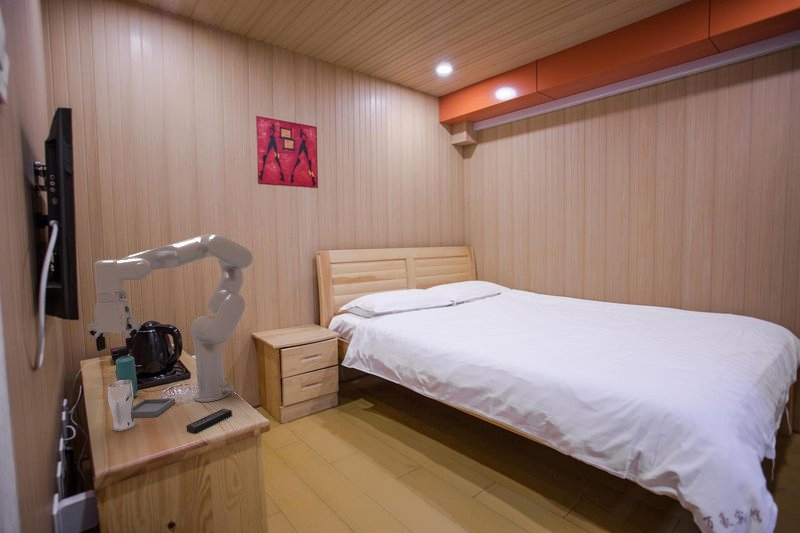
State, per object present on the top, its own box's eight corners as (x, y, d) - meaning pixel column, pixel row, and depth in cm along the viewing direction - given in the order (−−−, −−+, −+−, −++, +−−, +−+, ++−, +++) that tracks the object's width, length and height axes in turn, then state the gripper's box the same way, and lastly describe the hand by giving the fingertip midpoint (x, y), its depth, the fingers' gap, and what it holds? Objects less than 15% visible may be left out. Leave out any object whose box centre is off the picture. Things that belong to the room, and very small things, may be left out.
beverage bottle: (142, 394, 168) (138, 345, 166) (130, 401, 161) (125, 350, 159) (127, 394, 168) (122, 346, 167) (114, 401, 162) (109, 350, 160)
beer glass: (118, 423, 143) (114, 380, 142) (140, 421, 143) (136, 378, 142) (106, 432, 136) (102, 387, 135) (129, 431, 136) (124, 386, 135)
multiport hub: (186, 432, 135) (185, 425, 135) (224, 414, 148) (223, 408, 148) (194, 435, 133) (194, 428, 133) (232, 416, 146) (232, 410, 146)
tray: (175, 403, 158) (174, 398, 158) (156, 416, 147) (156, 411, 147) (144, 404, 158) (144, 398, 158) (124, 417, 147) (123, 412, 147)
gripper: (144, 295, 140) (149, 345, 141) (93, 296, 140) (98, 347, 141) (129, 299, 132) (134, 352, 134) (76, 300, 133) (81, 353, 134)
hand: (116, 349), depth 138 cm, fingers open, 9 cm apart
